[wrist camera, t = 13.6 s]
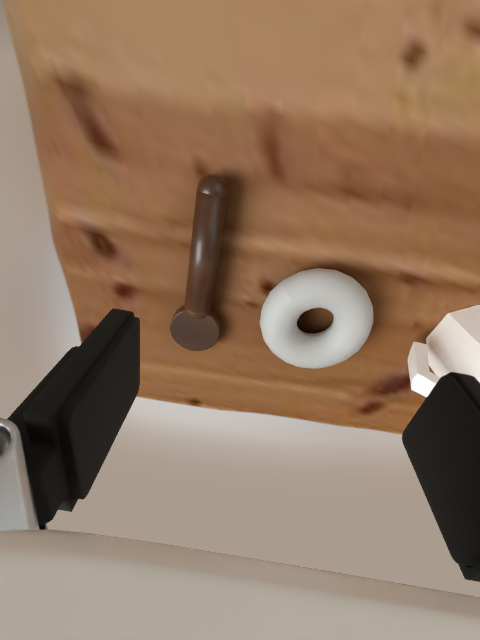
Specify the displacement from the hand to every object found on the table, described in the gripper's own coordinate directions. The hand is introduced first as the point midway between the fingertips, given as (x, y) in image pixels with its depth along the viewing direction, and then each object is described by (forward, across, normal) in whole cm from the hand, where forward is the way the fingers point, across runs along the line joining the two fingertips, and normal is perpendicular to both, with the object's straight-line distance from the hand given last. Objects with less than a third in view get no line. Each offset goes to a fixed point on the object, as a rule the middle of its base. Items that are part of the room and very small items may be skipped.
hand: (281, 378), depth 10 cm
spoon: (+18, +5, +6) cm, 20 cm away
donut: (+19, -6, +7) cm, 21 cm away
